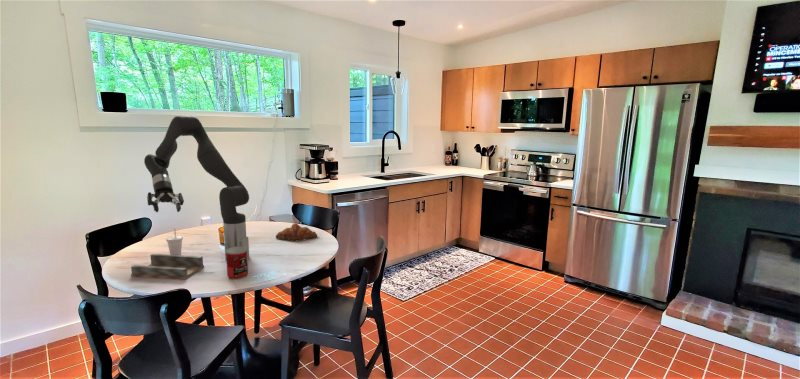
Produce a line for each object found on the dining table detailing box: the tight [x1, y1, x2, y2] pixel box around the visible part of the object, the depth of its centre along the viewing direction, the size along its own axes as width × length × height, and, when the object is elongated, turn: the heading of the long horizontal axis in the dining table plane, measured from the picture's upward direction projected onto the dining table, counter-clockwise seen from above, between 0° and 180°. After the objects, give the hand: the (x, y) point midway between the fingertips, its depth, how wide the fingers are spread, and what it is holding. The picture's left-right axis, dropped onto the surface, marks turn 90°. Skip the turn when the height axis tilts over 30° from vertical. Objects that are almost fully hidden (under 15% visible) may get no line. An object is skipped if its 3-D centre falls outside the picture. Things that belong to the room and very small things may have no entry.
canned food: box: [225, 246, 249, 280], centre depth 150 cm, size 8×8×11 cm
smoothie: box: [165, 227, 184, 255], centre depth 167 cm, size 6×6×14 cm
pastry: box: [275, 222, 318, 242], centre depth 202 cm, size 17×15×8 cm
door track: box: [130, 253, 205, 281], centre depth 153 cm, size 22×13×5 cm, turn 86°
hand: (168, 210), depth 171 cm, fingers open, 8 cm apart
